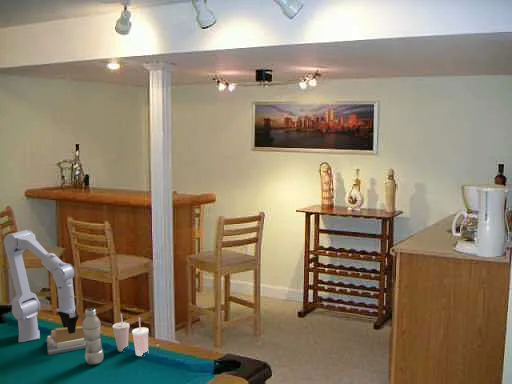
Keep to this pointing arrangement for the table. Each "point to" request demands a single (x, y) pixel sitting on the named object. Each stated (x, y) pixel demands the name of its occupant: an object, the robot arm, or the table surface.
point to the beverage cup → (140, 339)
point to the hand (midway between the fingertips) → (69, 330)
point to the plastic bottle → (92, 337)
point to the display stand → (64, 345)
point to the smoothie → (121, 334)
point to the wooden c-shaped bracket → (67, 334)
